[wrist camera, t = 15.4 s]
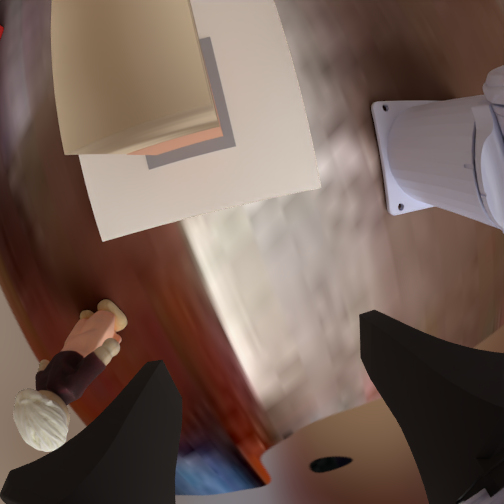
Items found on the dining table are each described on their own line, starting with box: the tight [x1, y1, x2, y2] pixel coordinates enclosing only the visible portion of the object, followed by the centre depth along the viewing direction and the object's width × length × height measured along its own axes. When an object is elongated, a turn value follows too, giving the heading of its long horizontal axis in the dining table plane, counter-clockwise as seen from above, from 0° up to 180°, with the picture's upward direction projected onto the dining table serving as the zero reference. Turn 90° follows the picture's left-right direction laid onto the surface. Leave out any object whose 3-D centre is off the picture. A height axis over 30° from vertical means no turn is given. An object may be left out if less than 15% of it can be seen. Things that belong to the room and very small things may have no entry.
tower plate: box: [79, 0, 321, 242], centre depth 15 cm, size 14×14×2 cm
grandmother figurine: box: [13, 299, 127, 452], centre depth 14 cm, size 8×4×13 cm, turn 125°
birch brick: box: [51, 0, 220, 155], centre depth 8 cm, size 4×6×5 cm, turn 13°
